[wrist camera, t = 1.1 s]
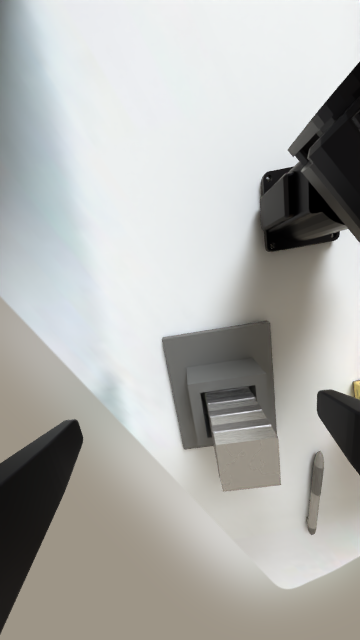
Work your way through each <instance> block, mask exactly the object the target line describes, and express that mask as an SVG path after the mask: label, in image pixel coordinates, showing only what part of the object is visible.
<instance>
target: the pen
mask: <svg viewBox="0 0 360 640" xmlns="http://www.w3.org/2000/svg"><path fill="white" fill-rule="evenodd" d="M323 470H324V459H323V455H322V453H321V451H319V452H317V454H316V457H315V460H314V464H313V474H312V484H311V497H310V506H309V516H308V517H306V521H307V524H308V531H309V533H310V534H311V535H313V534H315V531H316V524H317V516H318V507H319V499H320V494H321V486H322V478H323Z"/></svg>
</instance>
